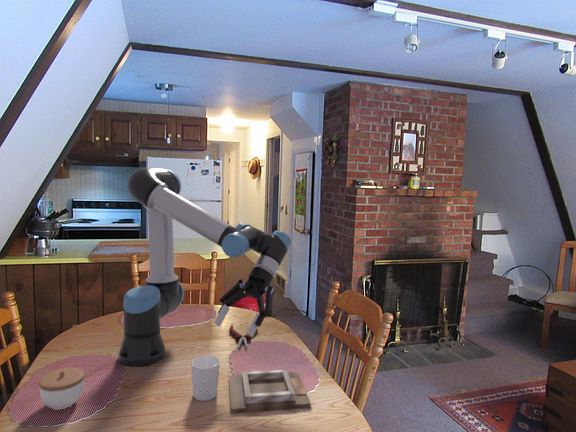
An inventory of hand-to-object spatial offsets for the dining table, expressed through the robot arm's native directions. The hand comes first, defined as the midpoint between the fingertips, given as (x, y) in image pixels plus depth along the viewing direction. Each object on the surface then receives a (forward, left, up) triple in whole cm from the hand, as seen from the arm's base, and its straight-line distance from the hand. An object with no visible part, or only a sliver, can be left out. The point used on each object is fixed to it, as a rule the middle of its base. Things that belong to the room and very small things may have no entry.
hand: (232, 329), depth 123 cm
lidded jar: (-46, -7, -16) cm, 49 cm away
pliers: (+4, +32, -17) cm, 36 cm away
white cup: (-8, -7, -16) cm, 20 cm away
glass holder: (+10, -8, -16) cm, 21 cm away
